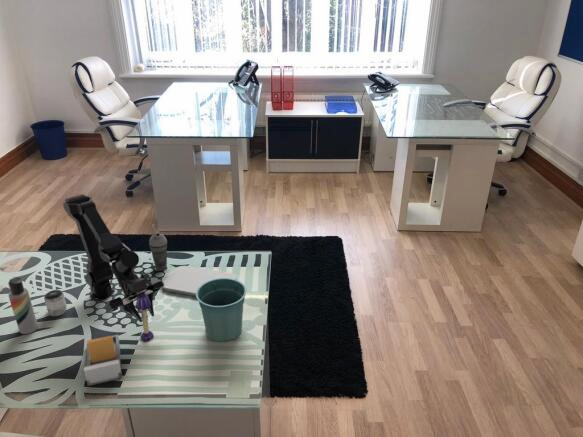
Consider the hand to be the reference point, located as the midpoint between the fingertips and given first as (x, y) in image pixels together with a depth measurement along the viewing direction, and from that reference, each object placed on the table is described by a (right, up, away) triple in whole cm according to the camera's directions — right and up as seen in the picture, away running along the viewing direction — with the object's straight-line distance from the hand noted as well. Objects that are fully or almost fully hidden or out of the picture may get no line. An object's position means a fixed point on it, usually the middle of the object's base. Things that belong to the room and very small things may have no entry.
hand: (147, 318), depth 155 cm
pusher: (-12, -12, -6) cm, 18 cm away
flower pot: (+24, -6, +8) cm, 26 cm away
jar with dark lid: (-37, -1, +16) cm, 40 cm away
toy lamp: (-1, -7, +5) cm, 9 cm away
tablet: (+11, +6, +32) cm, 35 cm away
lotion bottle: (-42, -5, +7) cm, 43 cm away
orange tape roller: (-12, -12, -6) cm, 18 cm away
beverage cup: (-7, +12, +43) cm, 45 cm away
